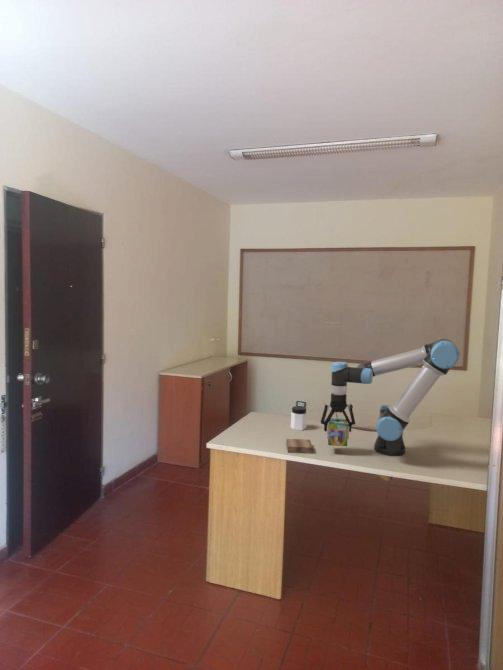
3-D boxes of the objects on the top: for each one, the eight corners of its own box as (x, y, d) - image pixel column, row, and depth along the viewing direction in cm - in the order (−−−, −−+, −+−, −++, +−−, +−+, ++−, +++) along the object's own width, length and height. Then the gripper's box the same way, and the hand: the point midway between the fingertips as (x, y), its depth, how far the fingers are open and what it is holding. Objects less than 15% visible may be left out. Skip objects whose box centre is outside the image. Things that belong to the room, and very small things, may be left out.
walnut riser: (309, 445, 237) (309, 439, 236) (312, 453, 225) (312, 447, 224) (286, 444, 237) (286, 438, 236) (288, 452, 225) (288, 446, 224)
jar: (296, 425, 272) (297, 405, 270) (308, 428, 266) (309, 407, 265) (288, 428, 265) (288, 407, 263) (300, 431, 260) (301, 410, 258)
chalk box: (347, 447, 223) (348, 417, 221) (327, 445, 224) (329, 415, 223) (346, 441, 232) (347, 412, 231) (327, 439, 233) (328, 411, 232)
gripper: (359, 392, 229) (357, 435, 231) (315, 391, 230) (314, 435, 232) (363, 395, 222) (361, 440, 224) (317, 394, 222) (316, 439, 224)
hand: (337, 437), depth 228 cm, fingers closed on chalk box, 9 cm apart
